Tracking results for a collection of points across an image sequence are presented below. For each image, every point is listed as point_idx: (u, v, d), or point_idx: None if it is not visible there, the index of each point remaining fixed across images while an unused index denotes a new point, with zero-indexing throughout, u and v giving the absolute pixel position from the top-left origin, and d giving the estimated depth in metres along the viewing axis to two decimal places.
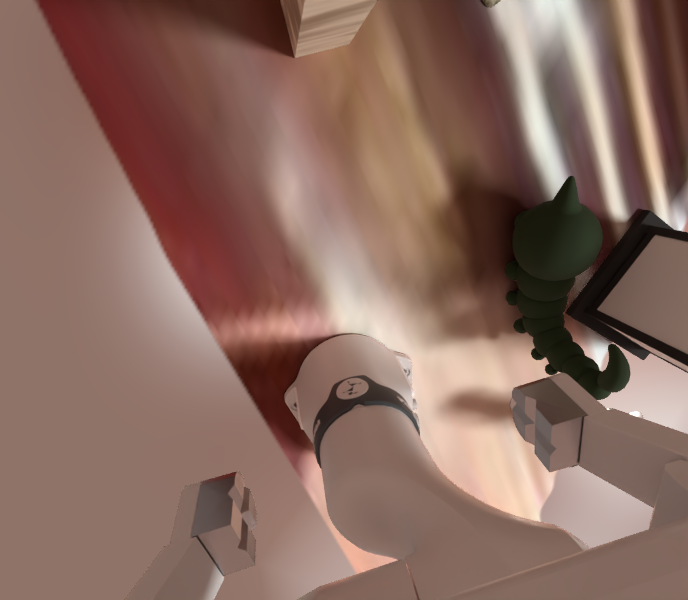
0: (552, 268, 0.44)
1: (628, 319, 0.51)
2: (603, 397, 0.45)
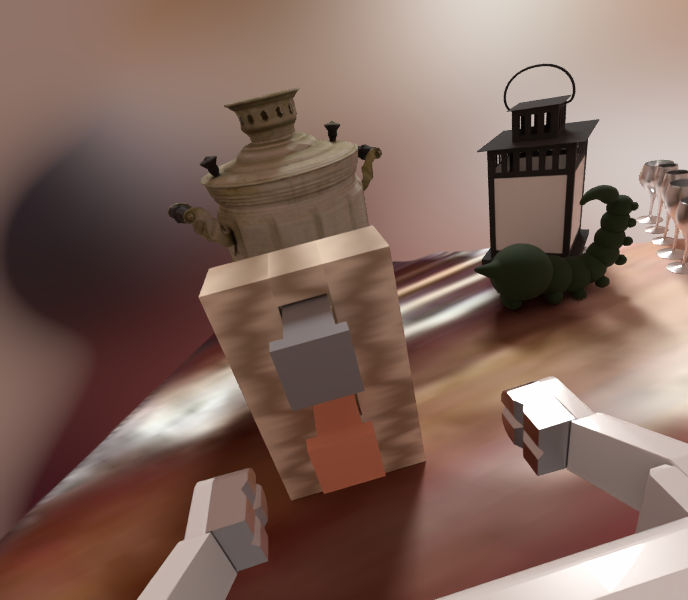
0: (541, 257, 0.60)
1: (559, 229, 0.72)
2: (625, 195, 0.60)
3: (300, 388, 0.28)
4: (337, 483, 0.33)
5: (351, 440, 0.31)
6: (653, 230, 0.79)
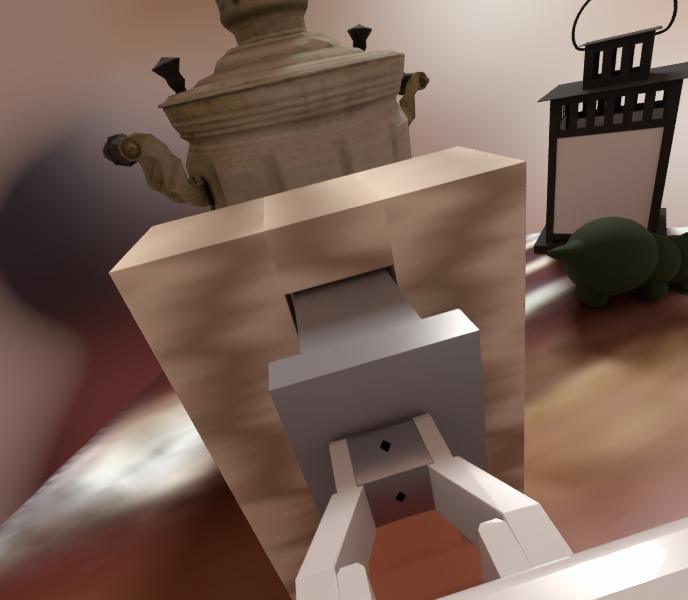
0: (644, 233, 0.43)
1: (645, 202, 0.55)
2: None
3: None
4: None
5: (451, 592, 0.14)
6: None
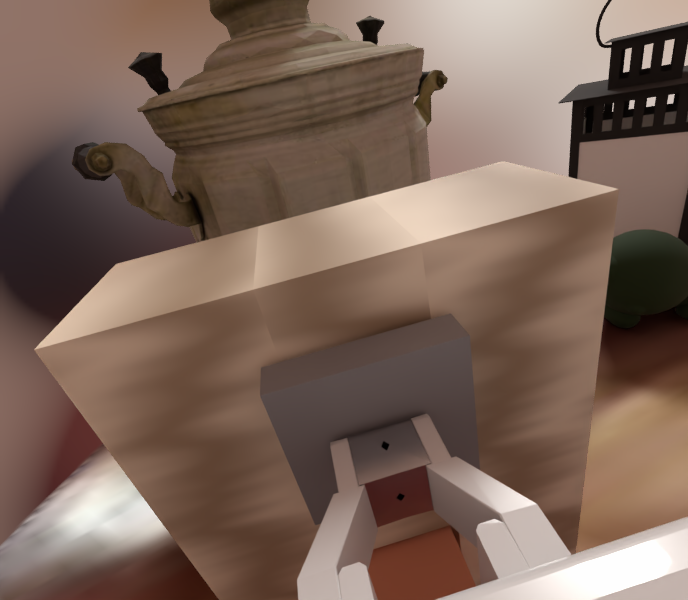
0: (684, 249, 0.39)
1: (675, 212, 0.51)
2: None
3: None
4: None
5: None
6: None
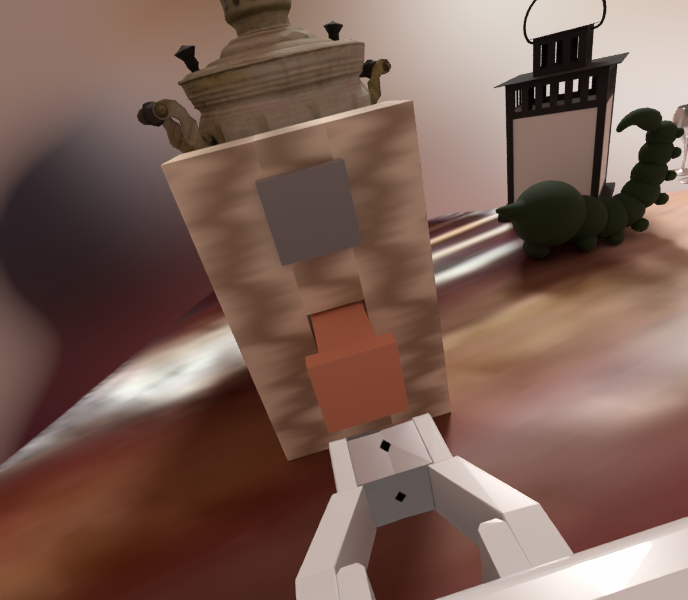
0: (573, 192, 0.53)
1: (587, 173, 0.65)
2: (669, 121, 0.52)
3: (290, 235, 0.25)
4: (346, 418, 0.25)
5: (364, 354, 0.23)
6: None
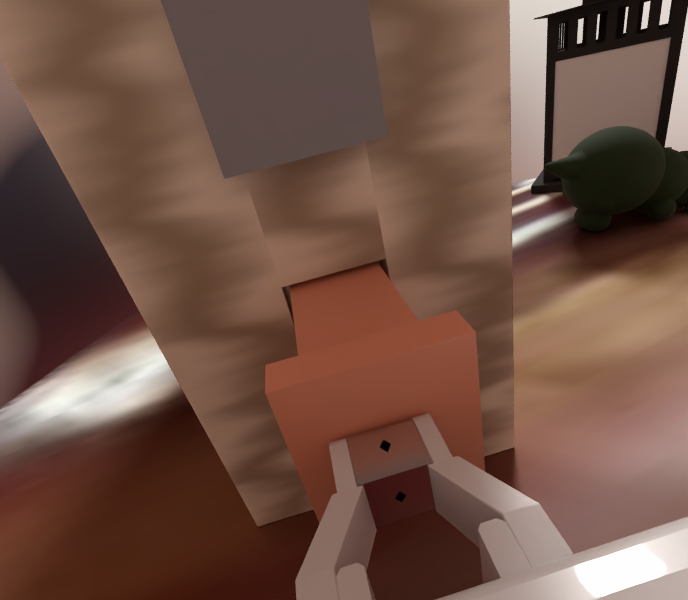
0: (651, 139, 0.39)
1: (650, 127, 0.51)
2: None
3: (239, 107, 0.12)
4: None
5: (402, 361, 0.10)
6: None
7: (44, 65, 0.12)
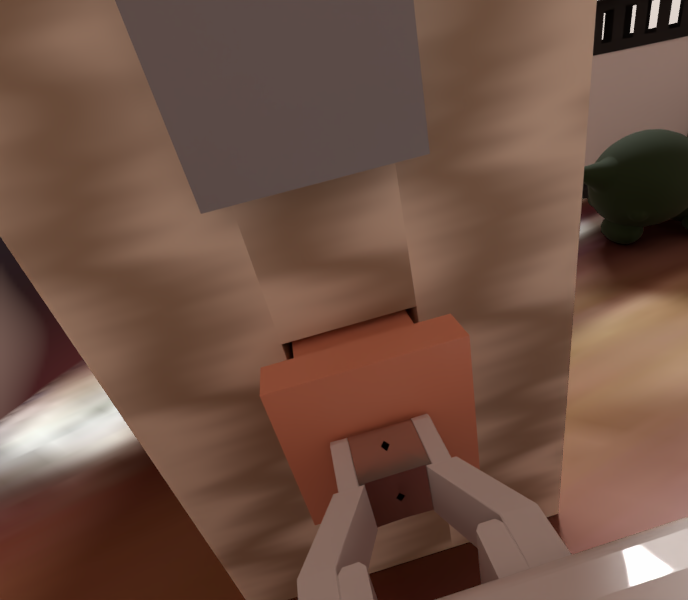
0: None
1: (680, 130, 0.48)
2: None
3: (219, 114, 0.08)
4: None
5: (396, 364, 0.10)
6: None
7: None
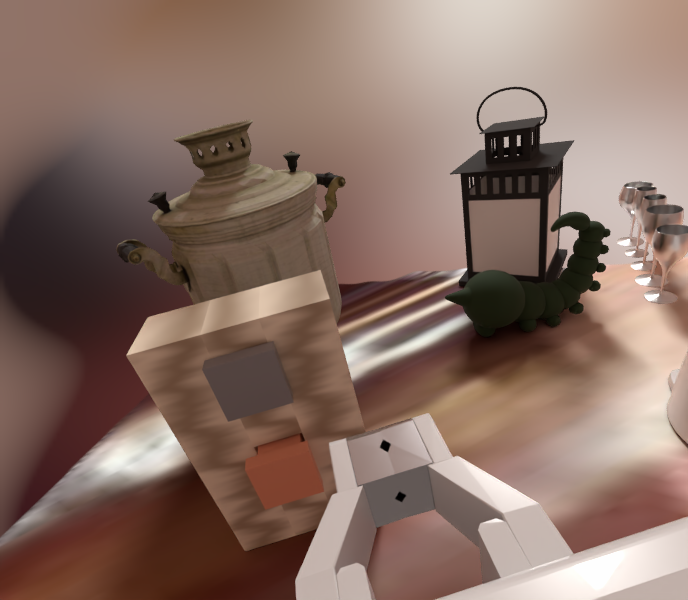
0: (512, 285, 0.59)
1: (534, 252, 0.71)
2: (597, 222, 0.59)
3: (233, 401, 0.31)
4: (277, 499, 0.35)
5: (286, 459, 0.33)
6: (633, 253, 0.77)
7: (160, 386, 0.31)
